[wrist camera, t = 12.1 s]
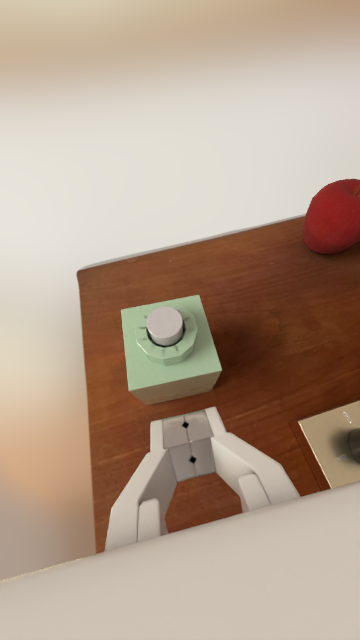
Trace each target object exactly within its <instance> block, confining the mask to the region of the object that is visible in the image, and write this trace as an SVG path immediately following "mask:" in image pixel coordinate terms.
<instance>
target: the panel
mask: <svg viewBox="0 0 360 640" xmlns="http://www.w3.org/2000/svg"><path fill="white" fill-rule="evenodd" d="M289 424H290V426H291V428H292V431H293V433H294V435H295V437H296V439H297V441H298V443H299V445H300V447H301V449H302V451H303V454H304V456H305V458H306V460H307V462H308V464H309V466H310V468H311V470H312V472H313V475H314V477H315V479H316V481H317V483H318V485H319V487H320V489H321V491H324V490H328V489H331V488H335V487H339V486H342V485H346V484H349V483H353V482H357V481H360V463H359V462H358V461H357V460H356V459H355V458H354V456H353V455H352V453H351V451H350V448H349V444H348V439H349V435H350V433H351V432H352V431H353V430H355V429H357V428H360V399H357V400H354V401H351V402H348V403H345V404H343V405H340V406H337V407H334V408H331V409H328V410H325V411H322V412H319V413H316V414H313V415H310V416H307V417H304V418H301V419H298V420H295V421H292V422H289Z"/></svg>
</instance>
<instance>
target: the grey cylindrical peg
mask: <svg viewBox="0 0 360 640" xmlns="http://www.w3.org/2000/svg"><path fill="white" fill-rule="evenodd" d="M147 328H148V331H149V334H150V336H151V338H152V340H153V341H154V342H155V343H157V344H159V345H163V346H168V345H172V344H174V343H176V342H177V341H178V340H179V339H180V338H181V336H182V334H183V319H182V316H181V314H180V313H179V312H178V311H177V310H176V309H174V308H172V307H168V306H163V307H159V308H156V309H155V310H153V311H152V312H151V313H150V314H149V316H148V318H147Z"/></svg>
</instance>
